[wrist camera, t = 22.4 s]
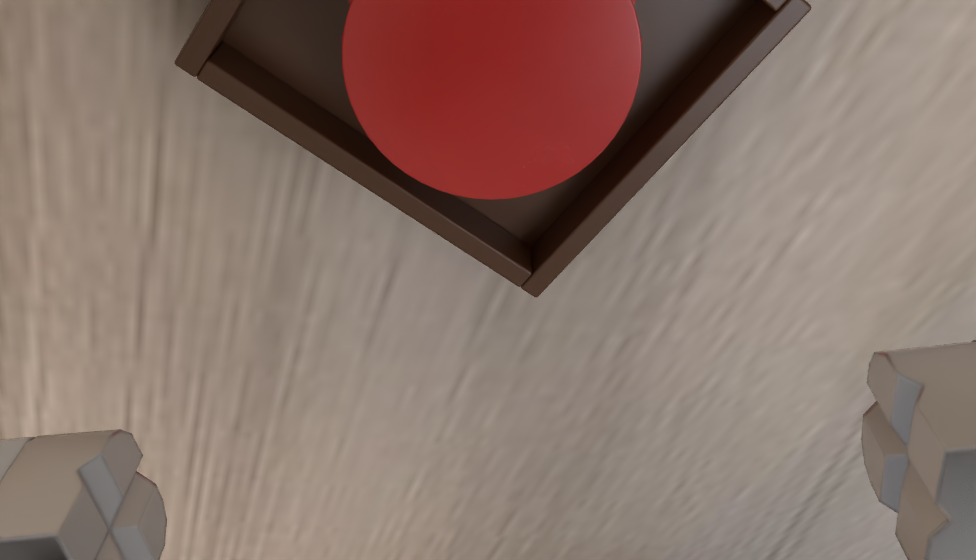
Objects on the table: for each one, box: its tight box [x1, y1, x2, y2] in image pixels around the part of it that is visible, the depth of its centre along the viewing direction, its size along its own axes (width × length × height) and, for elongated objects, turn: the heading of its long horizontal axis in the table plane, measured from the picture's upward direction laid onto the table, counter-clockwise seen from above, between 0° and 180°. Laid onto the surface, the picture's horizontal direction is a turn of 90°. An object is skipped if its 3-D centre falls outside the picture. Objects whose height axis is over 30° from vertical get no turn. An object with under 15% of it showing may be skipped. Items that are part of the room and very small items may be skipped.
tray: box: [175, 0, 811, 297], centre depth 22 cm, size 11×10×2 cm
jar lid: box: [341, 0, 642, 200], centre depth 22 cm, size 7×7×2 cm
